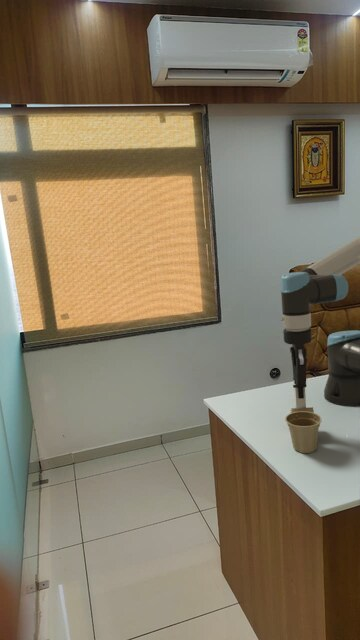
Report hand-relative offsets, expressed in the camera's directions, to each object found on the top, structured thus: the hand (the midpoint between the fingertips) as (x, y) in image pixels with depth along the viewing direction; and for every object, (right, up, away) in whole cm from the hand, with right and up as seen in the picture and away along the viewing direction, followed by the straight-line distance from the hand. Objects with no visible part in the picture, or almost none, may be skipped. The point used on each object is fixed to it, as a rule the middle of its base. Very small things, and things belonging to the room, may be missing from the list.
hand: (300, 407), depth 120 cm
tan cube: (0, -1, +1) cm, 2 cm away
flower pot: (-1, -10, -7) cm, 12 cm away
